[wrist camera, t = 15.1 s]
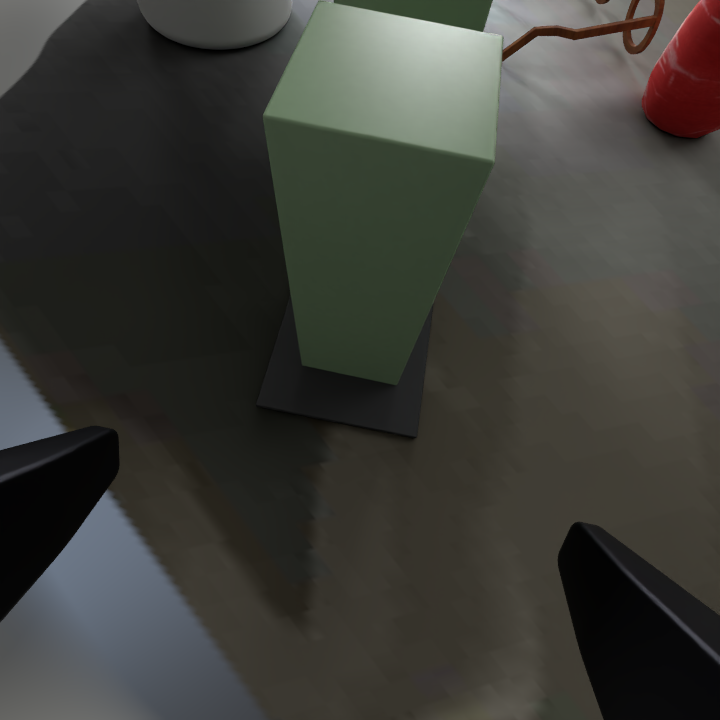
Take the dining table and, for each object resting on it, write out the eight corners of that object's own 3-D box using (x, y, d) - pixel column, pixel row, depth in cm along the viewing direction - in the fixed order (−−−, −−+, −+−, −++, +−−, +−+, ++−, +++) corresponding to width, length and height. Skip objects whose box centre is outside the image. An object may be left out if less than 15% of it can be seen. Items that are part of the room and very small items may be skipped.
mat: (415, 438, 19) (416, 437, 19) (256, 406, 19) (255, 404, 19) (456, 112, 30) (457, 108, 30) (354, 93, 30) (355, 89, 30)
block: (396, 385, 20) (495, 162, 8) (301, 365, 20) (260, 115, 8) (410, 305, 22) (504, 34, 10) (324, 287, 22) (318, -2, 10)
